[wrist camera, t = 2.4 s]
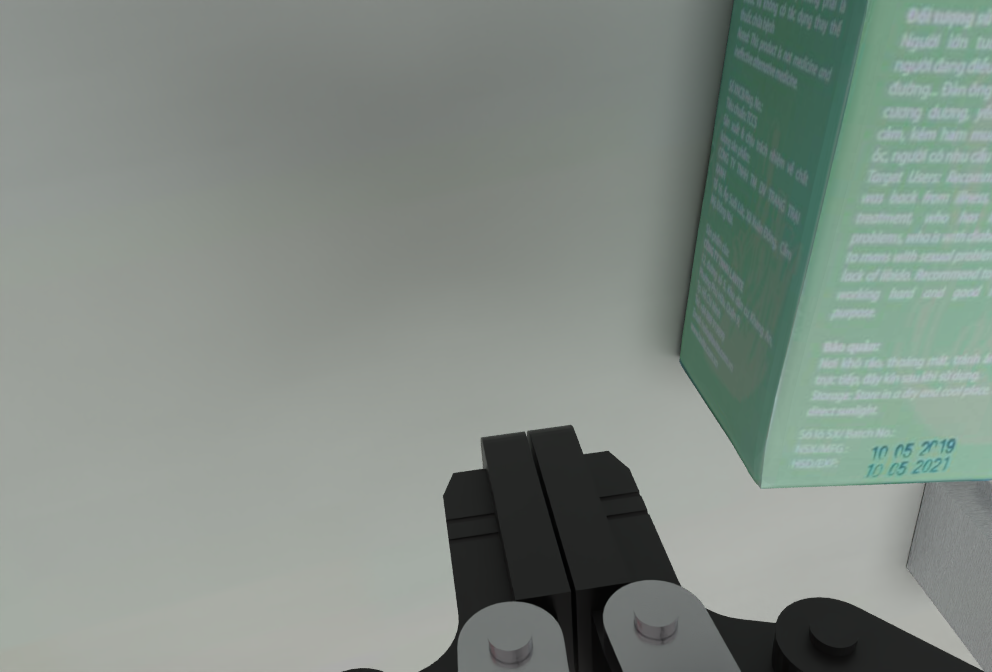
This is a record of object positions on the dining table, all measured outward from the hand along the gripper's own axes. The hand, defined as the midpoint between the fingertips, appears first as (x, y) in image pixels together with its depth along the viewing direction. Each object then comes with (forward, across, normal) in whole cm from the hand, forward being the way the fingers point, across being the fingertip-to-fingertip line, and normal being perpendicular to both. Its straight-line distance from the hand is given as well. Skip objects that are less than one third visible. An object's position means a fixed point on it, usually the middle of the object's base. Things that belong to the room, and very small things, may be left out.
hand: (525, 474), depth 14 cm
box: (+13, -11, 0) cm, 17 cm away
